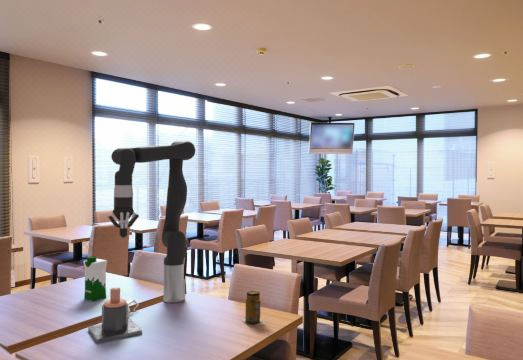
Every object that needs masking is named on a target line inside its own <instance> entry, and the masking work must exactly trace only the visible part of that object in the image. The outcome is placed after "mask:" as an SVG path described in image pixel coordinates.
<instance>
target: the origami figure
mask: <svg viewBox="0 0 523 360" xmlns="http://www.w3.org/2000/svg"><path fill="white" fill-rule="evenodd" d="M126 302H127V303H128V318H129V317H130V312H131V309H130V305H131V304H135V305H136V306H135V307H134V308H133V309H132V310H133V311H134V312H136V310H135V309H136V308H137V307H139V306H140V304H139V303H138V302H137V301H136V300H135V299H130V300H126Z"/></svg>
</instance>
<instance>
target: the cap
mask: <svg viewBox="0 0 523 360" xmlns="http://www.w3.org/2000/svg"><path fill="white" fill-rule="evenodd" d="M109 291H110V292H109V295H110V296H109V297H110V299H107V300H106V301H104V302H103V304H104V307H106V308H119V307H123V306H125V305H126V301H127V300H126V299H123V298H121V288H120V287H111V288H110V290H109Z"/></svg>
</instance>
